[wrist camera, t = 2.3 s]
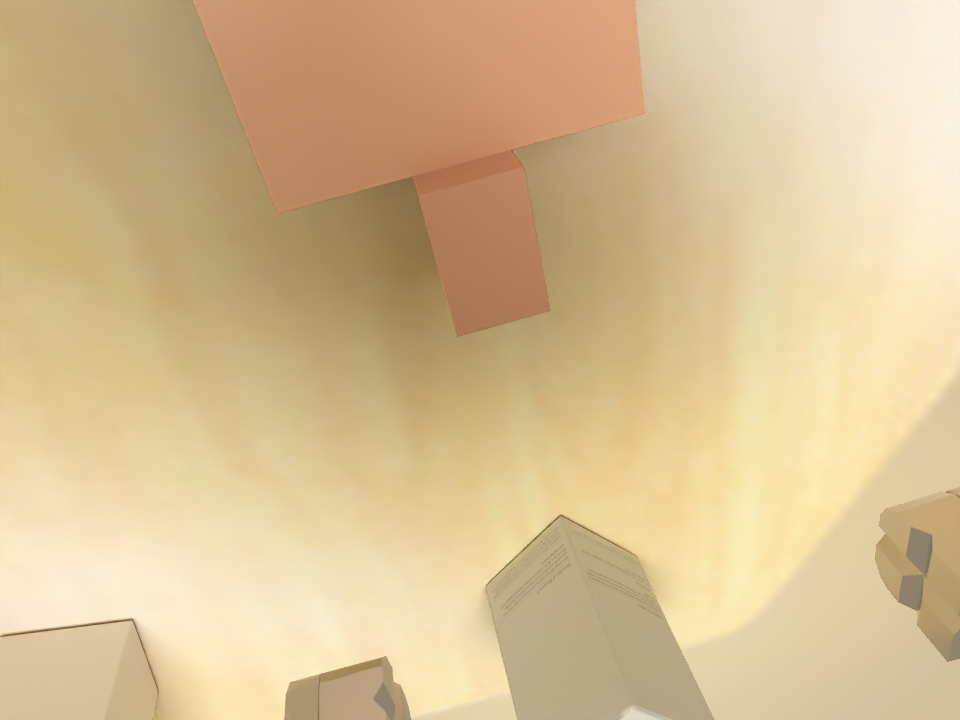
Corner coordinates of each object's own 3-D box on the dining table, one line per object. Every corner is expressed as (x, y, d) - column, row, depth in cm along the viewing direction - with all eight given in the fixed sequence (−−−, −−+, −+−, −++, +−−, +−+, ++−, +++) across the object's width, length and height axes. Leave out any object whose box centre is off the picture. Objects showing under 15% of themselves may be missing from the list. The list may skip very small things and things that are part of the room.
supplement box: (481, 586, 46) (527, 790, 35) (561, 511, 43) (636, 705, 33) (562, 623, 49) (626, 819, 39) (640, 555, 47) (731, 744, 36)
